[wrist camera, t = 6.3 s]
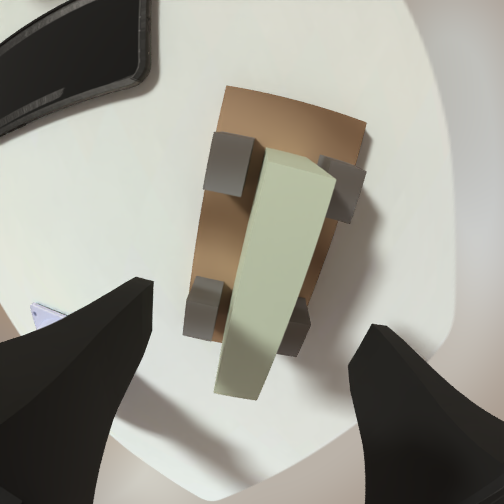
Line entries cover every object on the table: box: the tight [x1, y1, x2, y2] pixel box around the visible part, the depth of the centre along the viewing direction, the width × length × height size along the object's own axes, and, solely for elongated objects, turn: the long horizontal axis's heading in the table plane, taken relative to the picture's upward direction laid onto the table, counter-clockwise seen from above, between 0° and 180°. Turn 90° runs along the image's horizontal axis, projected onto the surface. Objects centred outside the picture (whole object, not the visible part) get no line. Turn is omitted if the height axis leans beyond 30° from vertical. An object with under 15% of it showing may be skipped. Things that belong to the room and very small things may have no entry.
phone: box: [0, 0, 151, 137], centre depth 11 cm, size 8×1×15 cm
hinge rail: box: [183, 86, 367, 357], centre depth 14 cm, size 15×7×4 cm, turn 168°
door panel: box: [214, 147, 336, 400], centre depth 13 cm, size 10×2×6 cm, turn 168°
